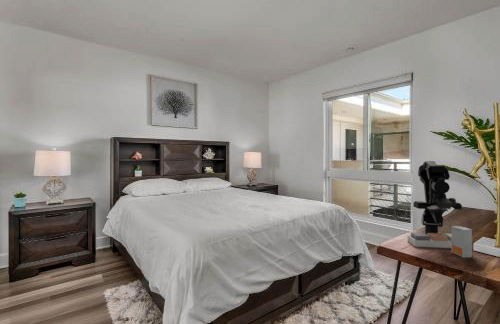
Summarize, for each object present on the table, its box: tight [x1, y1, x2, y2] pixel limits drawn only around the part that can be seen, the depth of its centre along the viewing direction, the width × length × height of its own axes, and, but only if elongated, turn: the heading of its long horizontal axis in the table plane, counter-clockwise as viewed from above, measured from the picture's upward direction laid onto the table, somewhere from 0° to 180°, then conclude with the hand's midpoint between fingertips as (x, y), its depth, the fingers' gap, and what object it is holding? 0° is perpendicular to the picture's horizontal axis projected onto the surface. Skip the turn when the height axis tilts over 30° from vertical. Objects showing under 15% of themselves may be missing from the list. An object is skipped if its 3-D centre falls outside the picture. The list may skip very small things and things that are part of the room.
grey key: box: [410, 231, 430, 240], centre depth 126 cm, size 6×6×2 cm
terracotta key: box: [427, 232, 448, 241], centre depth 125 cm, size 6×6×2 cm
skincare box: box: [450, 225, 473, 259], centre depth 112 cm, size 6×4×12 cm
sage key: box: [443, 233, 451, 241], centre depth 123 cm, size 6×6×2 cm
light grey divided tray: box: [407, 234, 451, 249], centre depth 125 cm, size 8×23×3 cm, turn 79°
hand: (436, 222), depth 125 cm, fingers closed
